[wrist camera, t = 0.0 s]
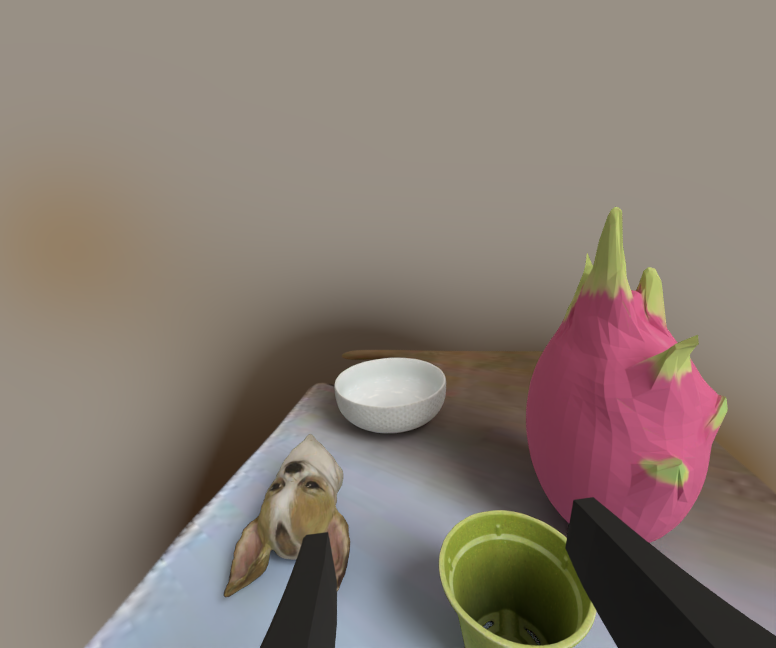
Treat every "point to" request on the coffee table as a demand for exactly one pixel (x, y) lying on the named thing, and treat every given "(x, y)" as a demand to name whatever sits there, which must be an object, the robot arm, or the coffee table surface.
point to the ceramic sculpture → (294, 516)
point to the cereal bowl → (390, 394)
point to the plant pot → (513, 583)
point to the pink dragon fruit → (621, 401)
